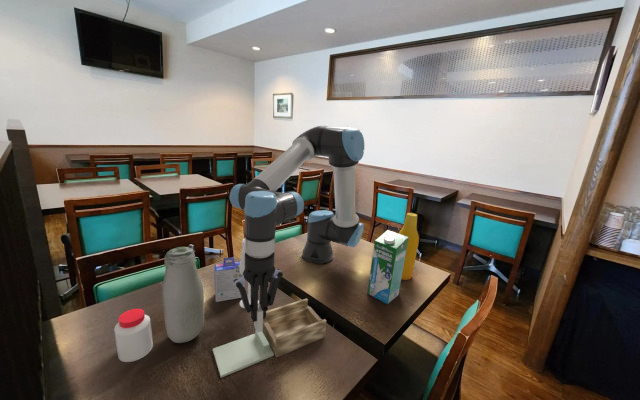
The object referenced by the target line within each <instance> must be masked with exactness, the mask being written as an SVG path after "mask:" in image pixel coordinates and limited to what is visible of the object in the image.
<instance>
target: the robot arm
mask: <svg viewBox="0 0 640 400" xmlns="http://www.w3.org/2000/svg"><path fill="white" fill-rule="evenodd" d="M364 154H365V138H364V136H363V133H362V131H360V129H358V128H355V127H349V126H332V125H331V126H329V125H317V126H314V127H312V128H309V129H308V130H305V131H304V132H302V133H301V134H300V135H298V136H297V137H295V139H294V140H293V141H292V144H291V145H290V147H288V148H287V149H286V150H285V151H284V152H283V153H282V154H281V155H279V156H278V157H277V158H276V159H275V160H273V161H272V162H271V163H270V164H269V165H268V166H267V167H265V168H264V169H263V170H262V171H260V173H258V175H257V176H255V177H254V178H253V179H252V180H251V181H249V182H248V183H247V184H245V183H238V184H235V185H234V186H233V187H232V188H231V190H230V192H229V201H230V204H231V205H232V207H235V208H237V209H238V210H239V209H240V210H242V211H243V212H244V238H245V269H244V272H243V276H242V277H240V278H239V279H235V280H234V283H235V285H236V286H237V288H238V289H239V291H240V295H241V298H240V299H241V300H242V301H243V305H244V307H245V308H244V309H245V311H246V313H248V314H250V319H251V320H252V322H253V326H254V329H256V331H257V333H258V332H261V331H263V319H264V318H265V317H266V311H268V310H269V308H268V307H270V306H271V307H272V306H273V305H274V301H275V299H276V295H277V291H278V288H279V283H280V280H281V279H283V276H284V274H283V272H282V271H281V270H280V269H279V268H277V269H276V267H275V251H276V250H275V249H276V228H277V226H279V225H281V224H282V223H286V222H287V221H290V220H293V219H295V218H296V217H298V216H300V215H301V214H302V213H303V211H304V208H305V203H304V199H303V197H302V196H301V195H300V193H298V192H296V191H286V192H279V191H278V189H279V188H280V187H281V186H282V185H283V184H284V183H285V182H286V181H287V180H288V179H289V178H290V177H291V176H292V175H293V174H295V172H296V171H298V169H299V168H300V167H301V166H302V165H303V164H305V162H306V161H307V162H308V161H310V160H311V161H312V159H313V158H315V157H325V158H328V165H329V166H330V167H332V172H333V187H334V203H335V204H334V206H335V207H334V208H335V214H334V212H333V211H331V210H327V209H325V210H324V209H323V210H314V211H311V213H309V214H308V220H307V231H306V232H307V235H306V242H305V245H304V248H303V250H302V252H301V253H302V254H301V257H302V258H303V259H304V260H305V261H307V262H309V263H313V264H326V263H329V262H331V261H332V260H333V258H334V253H333V247H332V244H331V242H332V243H335V244H338V245H341V246H345V247H350V248H355V247H357V246H358V244H359V243H360V240H361V239H362V236H363V233H364V228H365V225H364V223H362V222H360V217H359V216H358V214H357V213H356V167H357V165H358V164H359V163H360V161H361V160H362V159H363V157H364ZM246 282H247V283H248V282H249V283H250V285H251V305H250V304H249V300H248V292H247V291H246V288H245V287H246ZM269 282H270V283H269ZM258 300H259V304H258Z"/></svg>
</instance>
